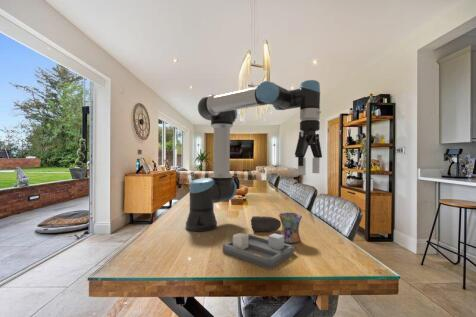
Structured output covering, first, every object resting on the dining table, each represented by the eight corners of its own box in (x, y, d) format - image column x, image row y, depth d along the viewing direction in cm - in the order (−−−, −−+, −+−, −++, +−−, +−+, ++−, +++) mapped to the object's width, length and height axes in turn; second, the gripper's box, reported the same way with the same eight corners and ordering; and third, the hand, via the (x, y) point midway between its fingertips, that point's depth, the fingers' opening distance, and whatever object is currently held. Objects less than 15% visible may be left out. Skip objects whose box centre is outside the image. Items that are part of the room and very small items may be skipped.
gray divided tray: (222, 251, 84) (222, 244, 84) (249, 240, 97) (249, 233, 97) (269, 269, 72) (269, 260, 71) (293, 253, 84) (294, 245, 84)
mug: (303, 245, 92) (303, 218, 92) (279, 244, 92) (280, 217, 92) (298, 235, 104) (298, 211, 104) (277, 234, 104) (277, 210, 104)
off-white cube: (232, 247, 84) (232, 235, 84) (239, 244, 87) (239, 232, 87) (241, 250, 81) (241, 237, 81) (248, 247, 84) (248, 235, 84)
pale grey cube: (268, 248, 84) (268, 236, 84) (274, 245, 87) (274, 233, 87) (278, 251, 81) (278, 238, 81) (283, 247, 84) (283, 235, 84)
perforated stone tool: (279, 228, 113) (279, 214, 113) (282, 232, 108) (283, 217, 108) (248, 229, 111) (249, 215, 111) (251, 233, 106) (251, 218, 106)
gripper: (305, 115, 81) (304, 176, 81) (330, 123, 100) (329, 173, 100) (285, 117, 86) (285, 175, 86) (313, 125, 105) (312, 172, 105)
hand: (309, 174), depth 93 cm, fingers open, 13 cm apart
